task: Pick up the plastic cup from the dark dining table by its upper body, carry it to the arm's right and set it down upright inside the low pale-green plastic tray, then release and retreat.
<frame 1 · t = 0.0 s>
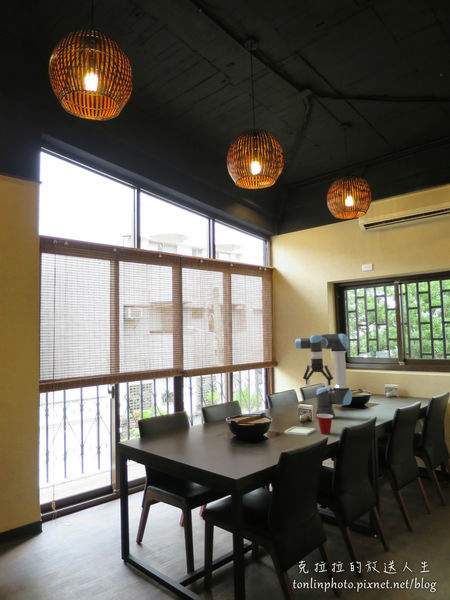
hand: (318, 390, 284), 28 cm above the table, fingers open, 13 cm apart
plastic cup: (325, 433, 279), on the table
tray: (300, 431, 286), on the table
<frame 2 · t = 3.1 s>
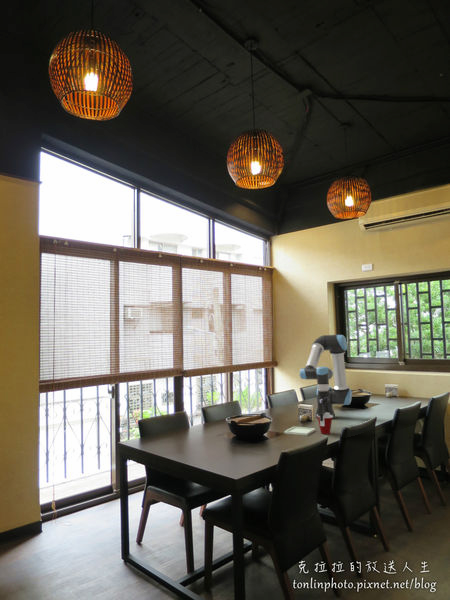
hand: (325, 424, 279), 6 cm above the table, fingers closed on plastic cup, 11 cm apart
plastic cup: (325, 433, 279), on the table, touching gripper
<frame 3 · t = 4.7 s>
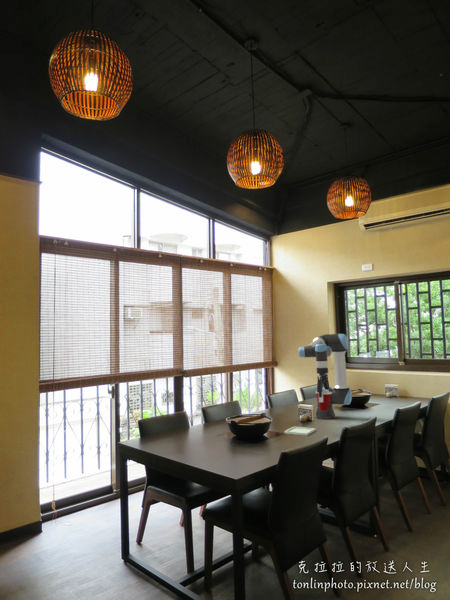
hand: (324, 400, 281), 21 cm above the table, fingers closed on plastic cup, 11 cm apart
plastic cup: (324, 410, 280), point 15 cm above the table, touching gripper
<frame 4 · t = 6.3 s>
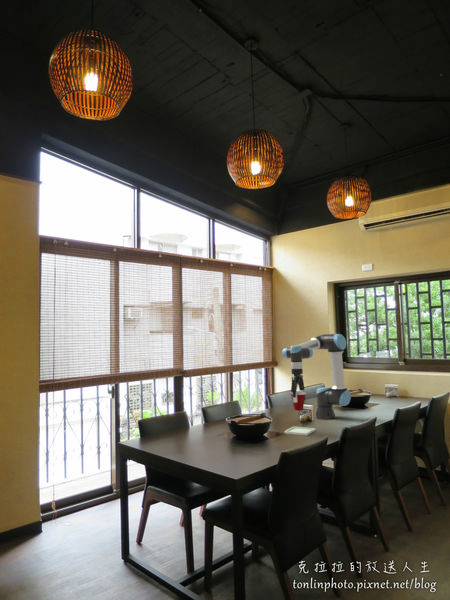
hand: (298, 401, 287), 21 cm above the table, fingers closed on plastic cup, 11 cm apart
plastic cup: (299, 410, 287), point 14 cm above the table, touching gripper
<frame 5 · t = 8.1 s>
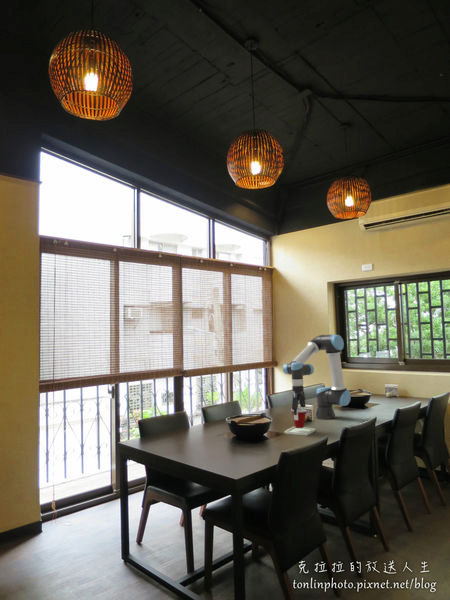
hand: (299, 418, 286), 9 cm above the table, fingers closed on plastic cup, 11 cm apart
plastic cup: (299, 427, 286), point 3 cm above the table, touching gripper
when the fingers open (8 cm above the table, at t = 9.4 s): plastic cup drops 1 cm, resting on tray.
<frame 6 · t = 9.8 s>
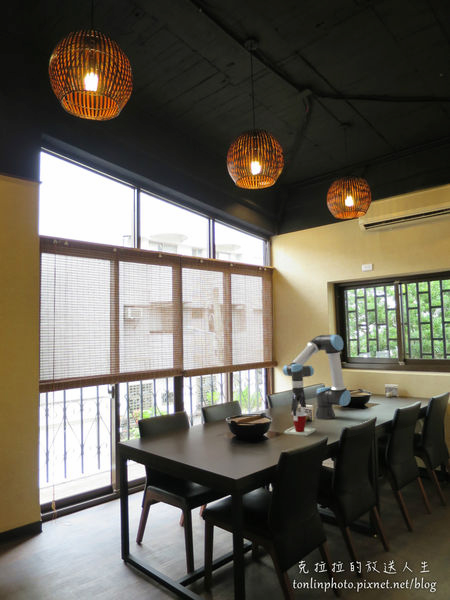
hand: (299, 418, 286), 9 cm above the table, fingers open, 13 cm apart
plastic cup: (300, 431, 286), resting on tray
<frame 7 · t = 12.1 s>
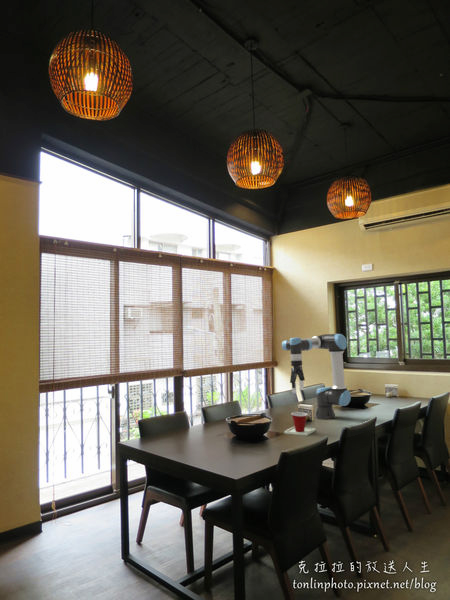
hand: (298, 391, 289), 27 cm above the table, fingers open, 13 cm apart
nothing on the table moved.
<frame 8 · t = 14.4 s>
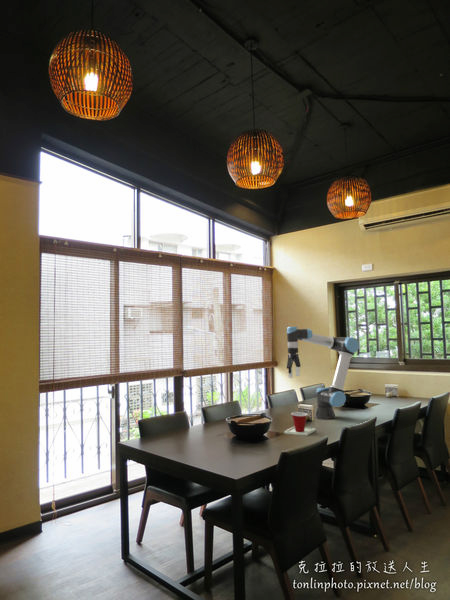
hand: (294, 376, 309), 35 cm above the table, fingers open, 13 cm apart
nothing on the table moved.
at the end: plastic cup inside the target area on the tray (0.2 cm from its centre), point 0.2 cm above the tray's base; plastic cup tilted 0°; plastic cup touching tray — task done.
